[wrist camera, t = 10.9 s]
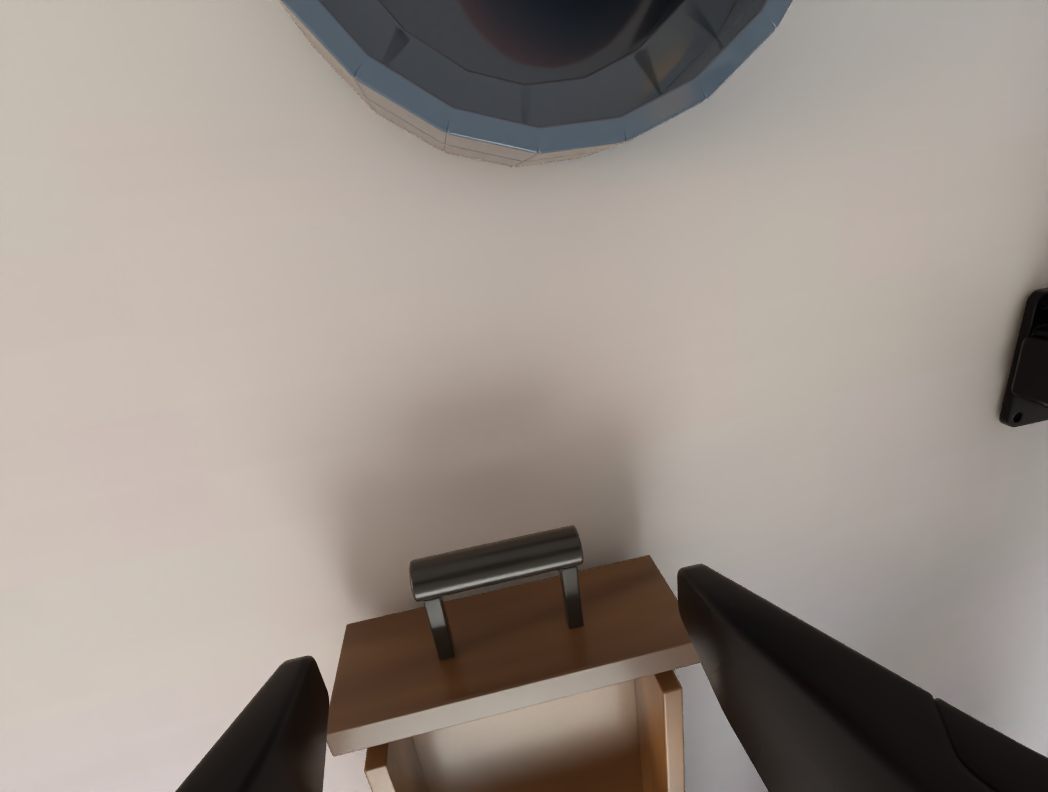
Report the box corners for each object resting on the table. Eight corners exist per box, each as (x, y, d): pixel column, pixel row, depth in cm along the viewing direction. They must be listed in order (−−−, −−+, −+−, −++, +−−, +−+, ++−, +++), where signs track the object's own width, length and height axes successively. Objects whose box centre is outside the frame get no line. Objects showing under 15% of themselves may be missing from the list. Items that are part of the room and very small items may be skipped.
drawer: (316, 540, 19) (282, 637, 15) (645, 470, 21) (702, 541, 16) (430, 865, 27) (429, 991, 23) (662, 798, 29) (704, 905, 24)
